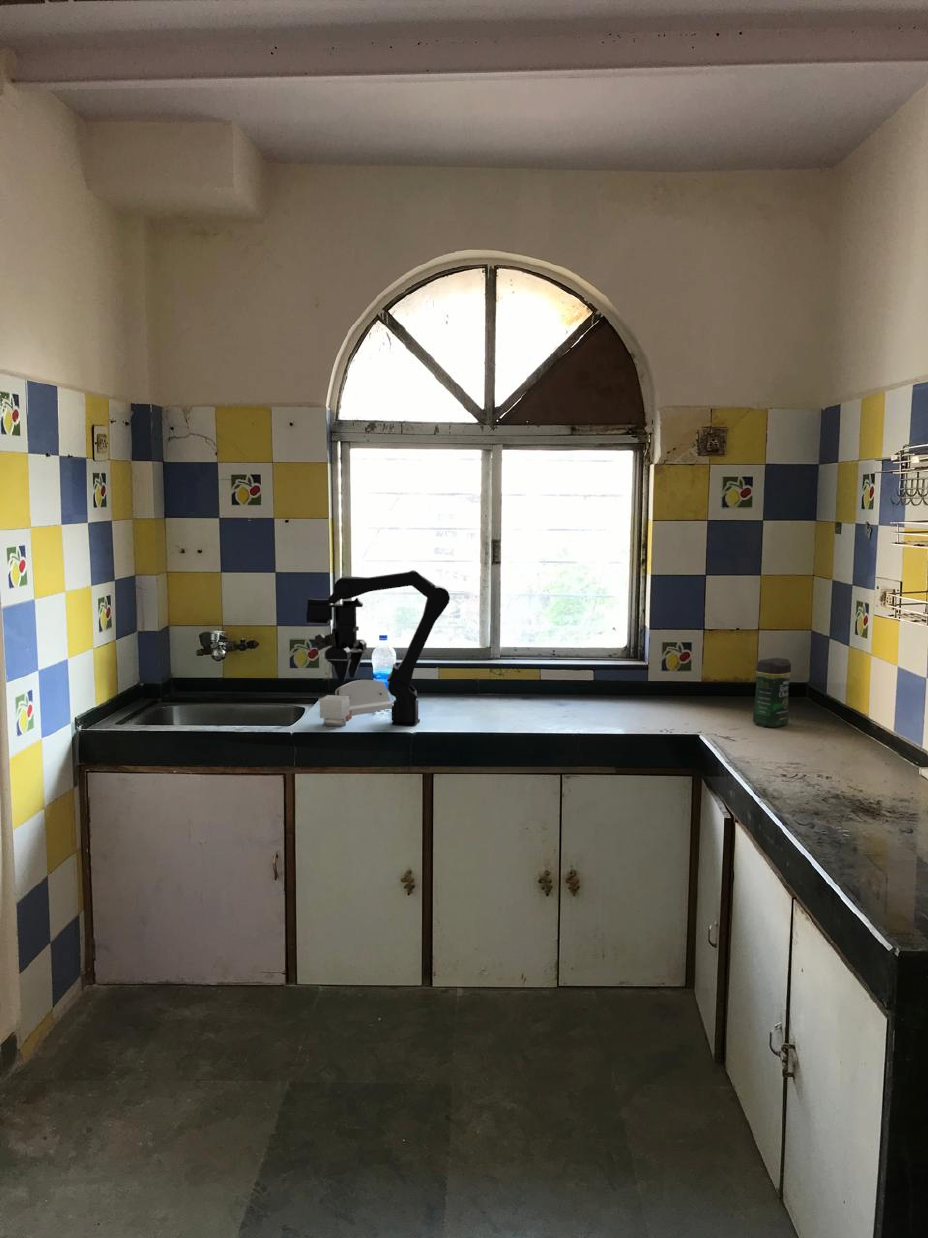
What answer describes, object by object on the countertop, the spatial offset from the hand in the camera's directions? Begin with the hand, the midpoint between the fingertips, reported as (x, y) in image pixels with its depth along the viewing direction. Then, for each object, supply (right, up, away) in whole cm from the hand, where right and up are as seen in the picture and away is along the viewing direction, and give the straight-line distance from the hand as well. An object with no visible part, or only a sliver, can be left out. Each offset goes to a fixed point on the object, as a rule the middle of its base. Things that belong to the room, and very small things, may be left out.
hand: (346, 680), depth 262 cm
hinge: (+2, -10, +18) cm, 21 cm away
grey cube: (-3, -9, -1) cm, 10 cm away
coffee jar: (+117, -13, +6) cm, 118 cm away
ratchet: (-3, -12, +2) cm, 12 cm away
